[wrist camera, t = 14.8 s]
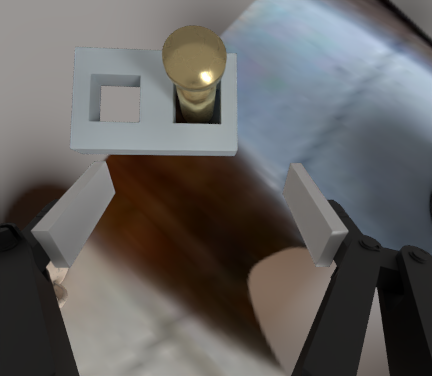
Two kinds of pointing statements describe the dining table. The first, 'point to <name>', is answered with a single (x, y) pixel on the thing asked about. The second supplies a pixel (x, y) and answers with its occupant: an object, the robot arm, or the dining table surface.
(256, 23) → the dining table surface
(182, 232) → the dining table surface
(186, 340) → the dining table surface
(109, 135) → the jig plate
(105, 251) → the dining table surface
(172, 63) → the brass sleeve
